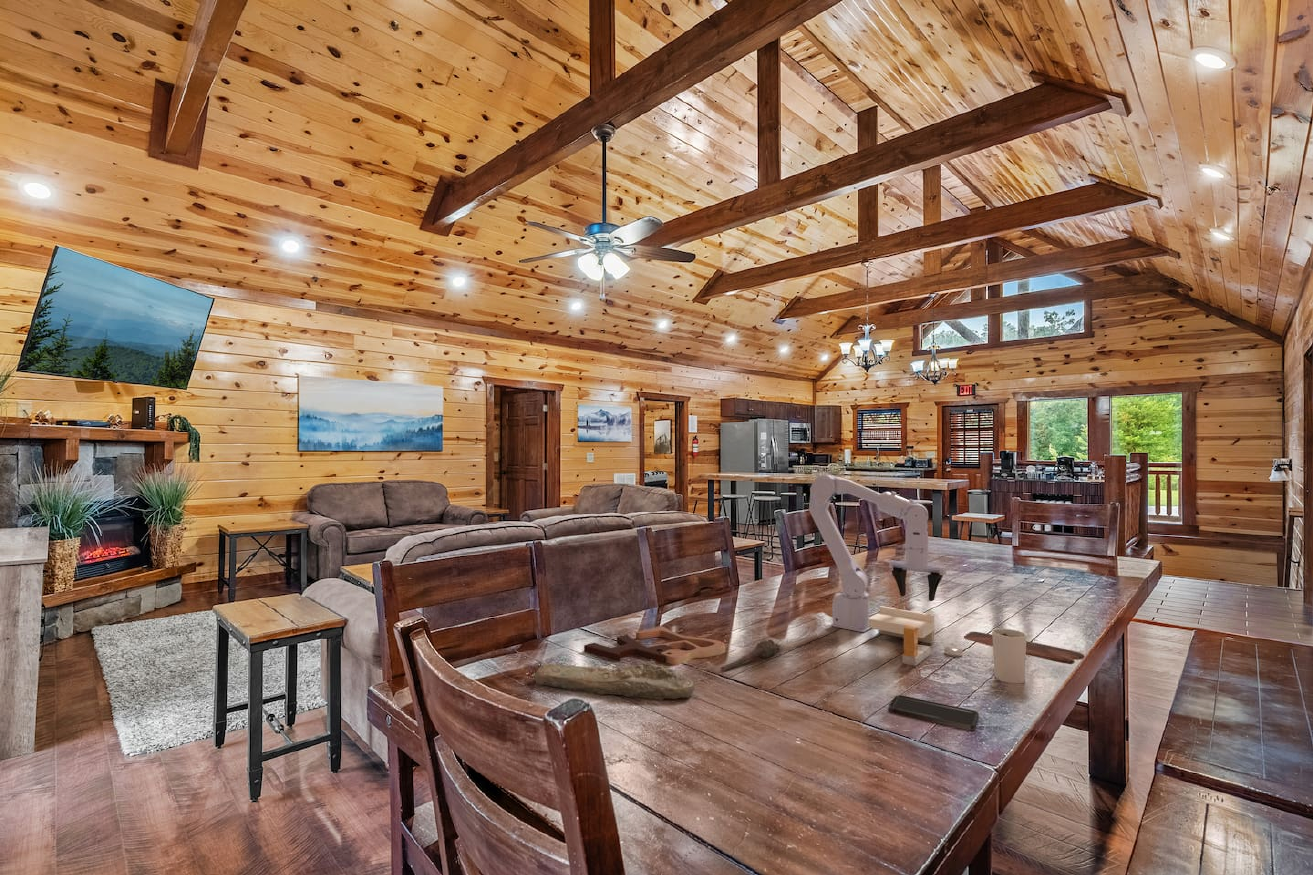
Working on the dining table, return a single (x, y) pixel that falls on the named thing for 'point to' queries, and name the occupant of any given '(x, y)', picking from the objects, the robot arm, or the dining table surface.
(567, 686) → the elongated rock
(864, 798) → the dining table surface
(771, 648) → the natural artifact
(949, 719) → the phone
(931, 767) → the dining table surface
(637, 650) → the wood carving
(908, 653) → the blade tool
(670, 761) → the dining table surface
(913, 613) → the cream shelf
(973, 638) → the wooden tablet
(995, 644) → the white cup
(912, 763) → the dining table surface
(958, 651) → the disc
